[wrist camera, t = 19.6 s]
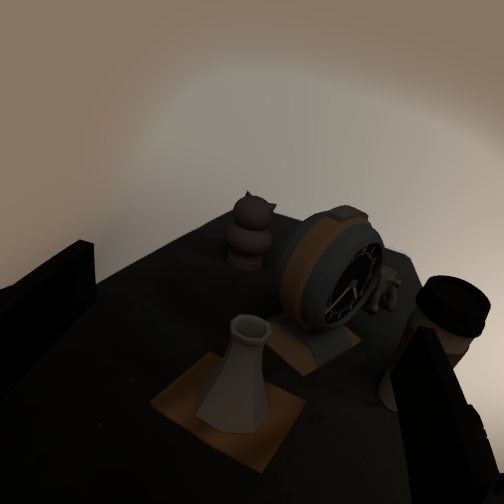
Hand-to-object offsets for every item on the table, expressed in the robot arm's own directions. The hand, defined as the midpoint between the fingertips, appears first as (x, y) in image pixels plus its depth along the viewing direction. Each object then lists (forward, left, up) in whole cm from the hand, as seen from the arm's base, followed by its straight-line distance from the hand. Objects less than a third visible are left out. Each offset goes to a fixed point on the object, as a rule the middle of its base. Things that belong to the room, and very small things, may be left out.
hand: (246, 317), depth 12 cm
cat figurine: (-18, +37, -18) cm, 45 cm away
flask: (-3, +9, -18) cm, 20 cm away
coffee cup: (+13, +21, -18) cm, 31 cm away
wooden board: (-3, +9, -18) cm, 21 cm away
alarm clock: (-1, +25, -18) cm, 31 cm away
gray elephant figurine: (+4, +39, -18) cm, 43 cm away
